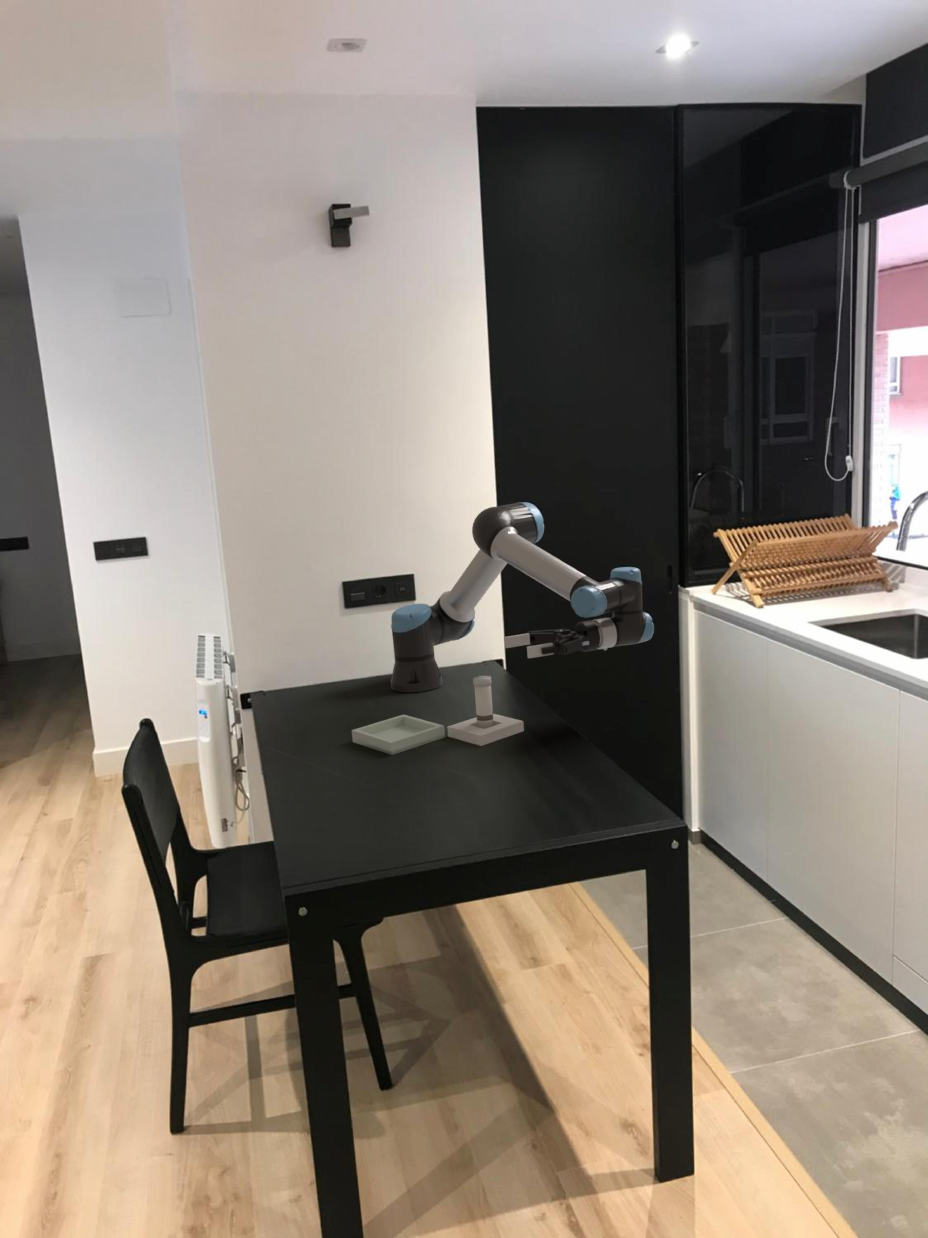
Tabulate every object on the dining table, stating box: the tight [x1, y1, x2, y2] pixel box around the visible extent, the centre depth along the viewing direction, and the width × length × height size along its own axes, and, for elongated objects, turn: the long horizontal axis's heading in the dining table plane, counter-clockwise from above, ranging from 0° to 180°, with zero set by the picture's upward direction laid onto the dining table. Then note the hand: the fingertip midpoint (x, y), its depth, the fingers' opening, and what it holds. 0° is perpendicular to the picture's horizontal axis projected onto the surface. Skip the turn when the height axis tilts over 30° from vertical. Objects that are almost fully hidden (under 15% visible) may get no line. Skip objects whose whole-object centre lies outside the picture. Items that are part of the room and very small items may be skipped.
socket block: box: [446, 713, 525, 747], centre depth 243 cm, size 14×12×2 cm
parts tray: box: [351, 714, 446, 756], centre depth 244 cm, size 16×16×3 cm
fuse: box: [472, 675, 494, 729], centre depth 242 cm, size 4×4×14 cm
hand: (516, 647), depth 243 cm, fingers open, 13 cm apart
